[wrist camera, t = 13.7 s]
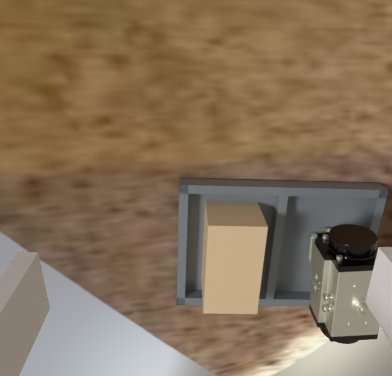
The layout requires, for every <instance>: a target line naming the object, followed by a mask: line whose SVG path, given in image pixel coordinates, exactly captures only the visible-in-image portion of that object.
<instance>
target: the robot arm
mask: <svg viewBox="0 0 392 376" xmlns="http://www.w3.org/2000/svg"><path fill="white" fill-rule="evenodd" d="M365 303H366V305H367V306H368V308H369V309H370V311H371V312H372V314H373V316H374V317H375V319H376V320H377V322H378V324H379V325H380V327H381V328H382V330H383V332H384V333H385V335H386V336H387V338H388V340H389V341H390V343H391V344H392V247H378V251H377V256H376V260H375V264H374V268H373V272H372V276H371V280H370V285H369V289H368V293H367V297H366V301H365ZM49 309H50V307H49V302H48V297H47V293H46V288H45V284H44V278H43V273H42V269H41V264H40V259H39V254H38V252H25V253H24V252H22V253H17V254H16V256H15V257H14V259H13V260H12V261H11V263H10V264H9V266H8V267H7V269H6V270H5V272H4V273H3V274H2V276H1V277H0V376H19V374H20V372H21V370H22V368H23V366H24V363H25V361H26V359H27V357H28V355H29V352H30V350H31V348H32V346H33V344H34V342H35V339H36V337H37V335H38V333H39V331H40V329H41V326H42V324H43V322H44V319H45V318H46V315H47V313H48V311H49Z"/></svg>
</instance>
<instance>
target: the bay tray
mask: <svg viewBox="0 0 392 376" xmlns="http://www.w3.org/2000/svg"><path fill="white" fill-rule="evenodd" d="M388 192H389V190H388V189H387V188H385V187H384V186H383V185H382V184H380V183H372V182H333V181H293V180H254V179H214V178H180V180H179V221H178V268H177V304H178V305H203V313H216V314H257V310H258V306H309V303H310V292H311V280H312V269H313V265H312V263H311V262H310V261H309V259H308V258H307V255H308V243H309V235H310V234H311V233H312V232H315V233H316V235H317V234H318V231H319V230H320V229H322V228H330V229H331V228H332V227H334V226H337V225H341V224H354V225H359V226H363V227H366V228H368V229H370V230H372V231H373V232H374V233H375V234H376V235H378V231H379V227H380V223H381V219H382V215H383V211H384V207H385V203H386V199H387V195H388Z"/></svg>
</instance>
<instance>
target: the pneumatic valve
mask: <svg viewBox="0 0 392 376" xmlns="http://www.w3.org/2000/svg"><path fill="white" fill-rule="evenodd" d="M377 242H378V237H377V235H376V234H375V233H374V232H373V231H372V230H370V229H368V228H366V227H363V226H359V225H354V224H341V225H337V226H334V227H332V228H331V229H330V228H322V229H320V230H319V231H318V234H317V235H316V233H315V232H312V233H311V234H310V235H309V243H308V255H307V258H308V259H309V261H310V262H311V263H312V265H313V269H312V280H311V292H310V303H309V308H310V311H311V313H312V315H313V317H314V320H315V322H316V324H317V326H318V327H320V329H321V331H322V332H323V333H324V335H325V336H327V337H328V338H329V339H330V341H335V342H338V343H343V344H351V343H355V342H357V341H358V340H368V339H377V337H378V331H379V326H380V325H379V324H378V322H377V320H376V319H375V317H374V316H373V314H372V312H371V311H370V309H369V308H368V306H367V305H366V303H365V301H366V297H367V293H368V289H369V285H370V280H371V276H372V272H373V268H374V264H375V260H376V256H377V251H378V249H377Z"/></svg>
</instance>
